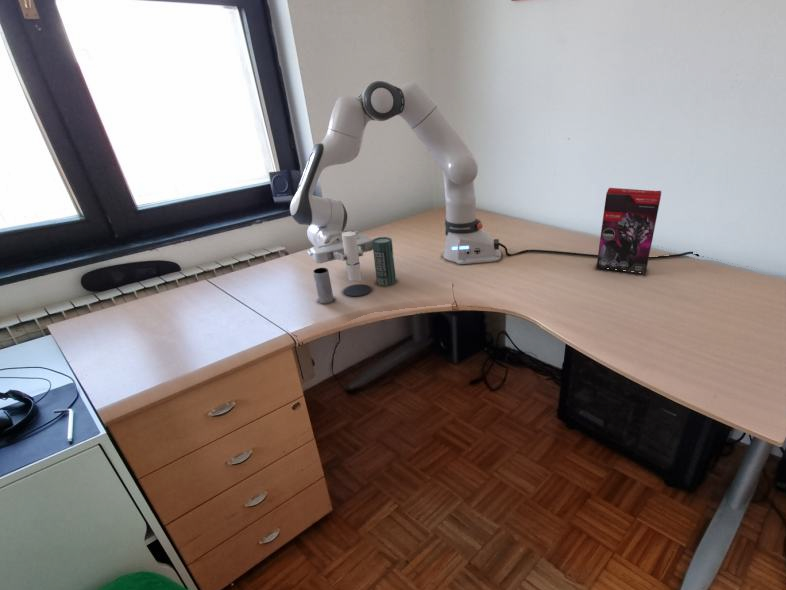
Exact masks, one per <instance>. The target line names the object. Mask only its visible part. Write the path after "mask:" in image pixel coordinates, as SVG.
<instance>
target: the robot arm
mask: <svg viewBox="0 0 786 590" xmlns="http://www.w3.org/2000/svg"><path fill="white" fill-rule="evenodd" d="M396 116H399V117H401V118H402V119H403V120H404V121H405V122H406V123H407V125H408V126H409V128H410V129H411V130H412V132H414V134H415V135H416V137H417V138H418V139H419V141H420V142H421V143H422V144H423V146H424V147H425V148H426V149H427V151H428V152H429V154H430V155H431V156H432V158H433V159H434V160H435V162H436V163H437V164H438V166H439V167H440V169H441V170H442V176H443V187H444V201H445V202H444V203H445V219H444V233H445V245H444V250H443V254H442V257H443V259H445V260H447V261H449V262H452V263H453V262H454V263H456V264H457V265H469V264H470V265H471V264H481V263H482V264H483V263H493V262H498V261H500V260H501V258H502V251H501V249H500V247H502V248H503V249H504V252H505V255H506V256H507V257H512V256H513V257H514V256H517V255H521V254H524V253H547V254H560V255H570V256H581V257H590V258H591V257H592V258H598V254H591V253H582V252H572V251H559V250H547V249H523V250H521V251H518V252H516V253H509V252H508V248H507V247H506V245H504V244H503V243H501V242H500V240H499V238H494V237H493V236H492V235H491V234H489V233H488V232H487V231H485V230H483V223H482V221H481V219H479V218H477V217H476V215H477V214H476V212H477V211H476V205H477V203H476V198H477V197H476V190H475V180H476V178H477V176H478V172H479V163H478V160H477V158H476V157H475V156H474V154H473V152H472V151H471V150H470V148H469V147H468V146H467V144H466V143H465V141H464V140H463V139H462V138H461V136H460V135H459V134H458V133H457V131H456V129H455V128H454V127H453V125H452V124H451V123H450V121H449V120H448V119H447V117H446V116H445V115H444V113H443V112H442V111H441V109H440V108H439V106H438V105H437V103H436V102H435V101H434V100H433V99H432V97H431V96H430V95H429V94H428V92H427V91H425V90H424V88H422V86H420V85H419V84H418V83H417V82H415V81H409V82H406V83H404V84H402V85H401V86H400V87H397V86H395V85H393V84H391V83H389V82H388V81H387V82H386V81H382V80H376V81H373V82H371V83H369V84H367V86H365V87H364V89H363V91H362V93H361V94H359V96H358V97H354V96H351V95H342V96H340V97H338V98H337V100H336V101H335V103H334V106H333V109H332V112H331V115H330V118H329V123H328V127H327V130H326V131H327V132H326V134H325V136H324V138H323V139H322V141H320V143H317V144H315V145H314V146H313V147H312V149H311V151H310V154H309V156H308V159H307V162H306V164H305V167H304V170H303V172H302V175H301V178H300V181H299V183H298V186H297V188H296V191H295V193H294V194H293V196H292V199H291V202H290V204H289V214H290V216H291V218H292V219H293V220H294V221H295V222H296V223H297V224H299V225H303V226H308V228H307V231H306V234H307V238H308V240H309V242H310V244H311V245H313V246H312V247H311V248H310V249H309V250H307V252H306V254H307V255H308V256H311V257H312V259H313V261H314V262H315V263H316V264H323V263H328V262H332V261H336V260H339V261H342V262H344V261H346V260H347V255H346V254H345V253H344V247H343V240H342V233H344V232H355V233H356V240H357V247H358V254H359V258H360V257H363V256H364V253H367V252H372V251H373V245H372V240H373V239H372V238H370V237H369V236H367V235H365V234H363V233H359V231H358V230H345V229H346V226H347V223H348V212H347V209H346V207H345V205H344V203H343V202H342V201H341V200H337V199H333V198H329V197H323V196H318V195H314V192H315V189H316V187H317V184H318V181H319V178H320V176H321V174H322V172H323V171H324V170H325V169H327V168H328V167H330V166H335V165H336V166H337V165H343V164H347V163H350V162H352V161H353V160H355V159H356V158H357V157H358V156H359V154H360V151H361V148H362V143H363V139H364V133H365V130H366V127H367V125H368V123H369V122H370V121H377V122H385V121H388V120H390V119H392V118H394V117H396ZM693 252H694V251H686V252H682V253H675V254H668V255H669V256H664V255H657V256H658V257H649V259H648V260H650V259H651V260H652V259H653V260H654V259H665V258H676V257H682V256H686V255H693V256H696V257H700V254H699V253H698V254H693Z"/></svg>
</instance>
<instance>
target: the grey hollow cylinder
mask: <svg viewBox="0 0 786 590" xmlns="http://www.w3.org/2000/svg"><path fill="white" fill-rule="evenodd" d="M312 273H313V278H314V283H315V287H316V292H317V297H318V302H319V303H321V304H330V303H333V302H334V293H333V289H332V288H333V287H332V283H331V278H330V271H329V269H328V268H327V267H317V268H315V269H314V270H313V272H312Z"/></svg>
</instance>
